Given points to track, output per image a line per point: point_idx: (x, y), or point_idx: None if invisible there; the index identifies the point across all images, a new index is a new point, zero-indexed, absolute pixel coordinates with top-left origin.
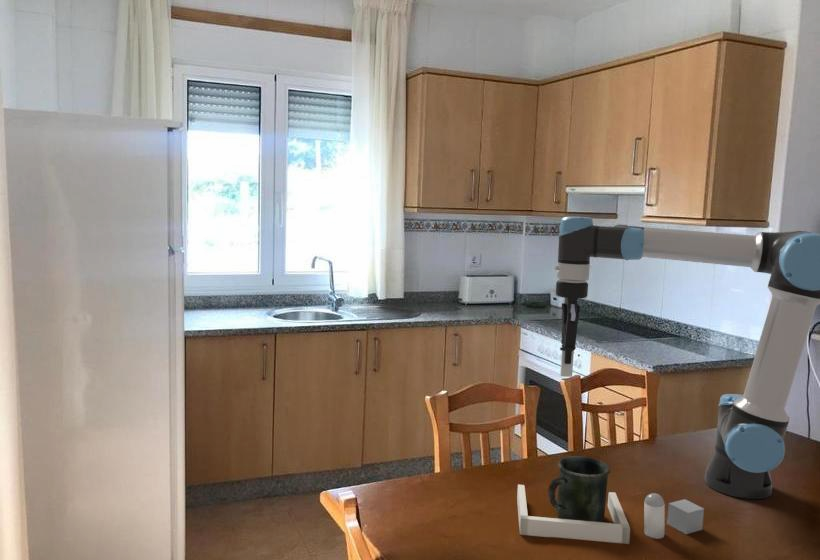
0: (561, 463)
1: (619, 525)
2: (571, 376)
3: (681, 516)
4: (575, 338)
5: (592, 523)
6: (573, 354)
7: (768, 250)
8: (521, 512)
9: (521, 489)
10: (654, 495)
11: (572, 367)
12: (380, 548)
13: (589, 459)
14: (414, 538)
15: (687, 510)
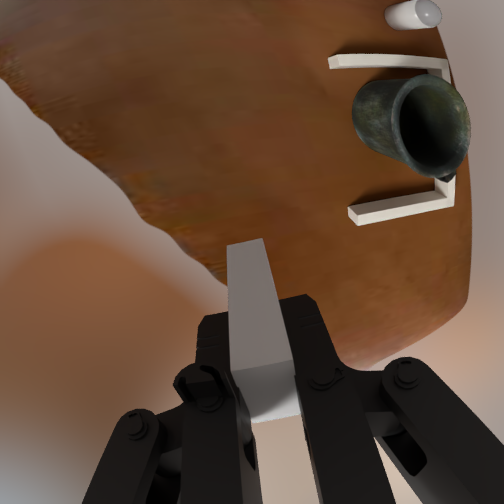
0: (432, 171)
1: (445, 72)
2: (262, 242)
3: None
4: (496, 442)
5: None
6: (285, 333)
7: None
8: (440, 207)
9: (375, 217)
10: (439, 13)
11: (269, 268)
12: (460, 310)
13: (398, 110)
14: (449, 294)
15: None
